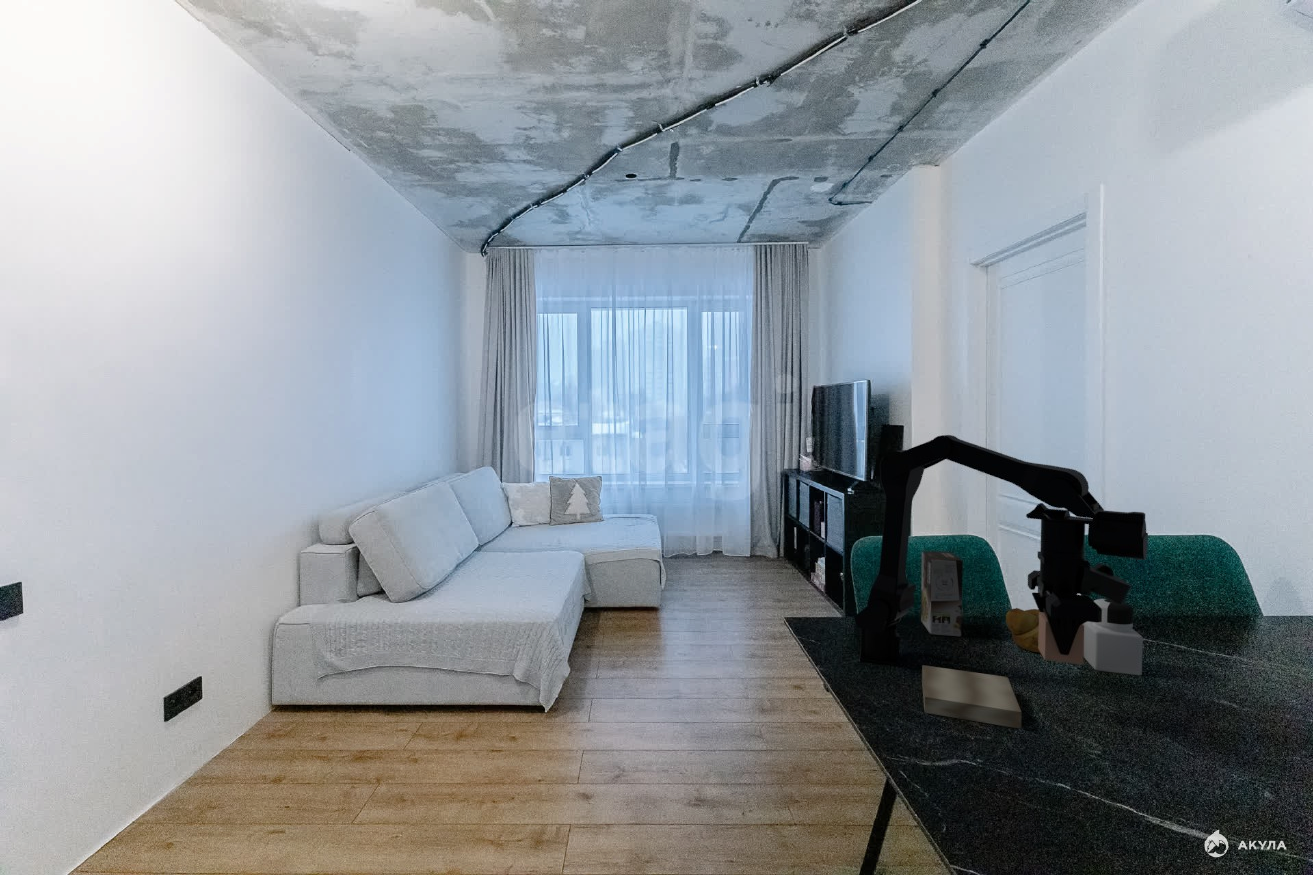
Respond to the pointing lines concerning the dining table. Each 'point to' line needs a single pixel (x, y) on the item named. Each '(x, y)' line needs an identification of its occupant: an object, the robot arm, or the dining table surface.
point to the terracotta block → (1050, 648)
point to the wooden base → (970, 696)
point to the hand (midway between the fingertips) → (1060, 648)
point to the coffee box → (941, 592)
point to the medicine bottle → (1113, 640)
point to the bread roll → (1024, 628)
